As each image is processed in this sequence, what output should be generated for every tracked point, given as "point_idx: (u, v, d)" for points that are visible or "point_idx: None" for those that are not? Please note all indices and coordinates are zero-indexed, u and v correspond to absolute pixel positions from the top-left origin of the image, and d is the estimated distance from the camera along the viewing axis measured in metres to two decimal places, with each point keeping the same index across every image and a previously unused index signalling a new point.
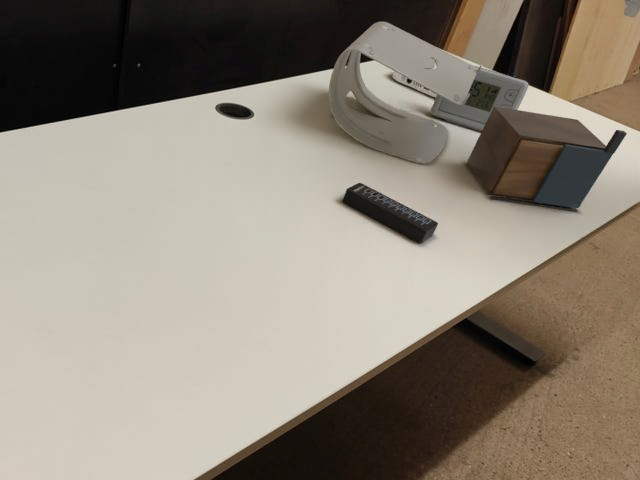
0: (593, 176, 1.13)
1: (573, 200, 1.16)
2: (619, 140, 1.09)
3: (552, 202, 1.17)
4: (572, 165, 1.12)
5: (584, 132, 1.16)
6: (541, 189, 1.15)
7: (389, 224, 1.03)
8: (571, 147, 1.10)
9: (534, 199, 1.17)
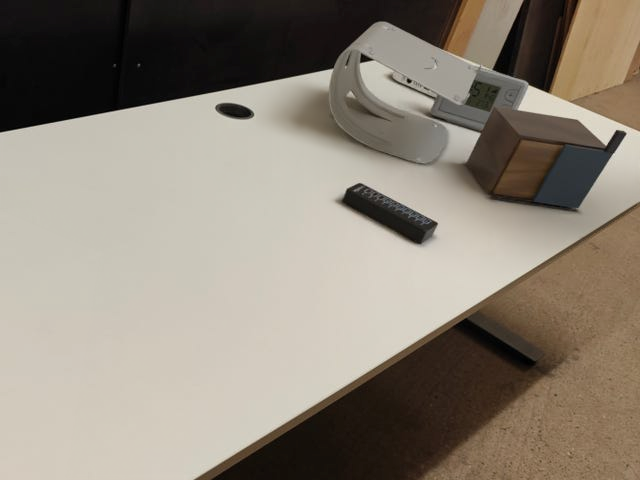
0: (593, 176, 1.13)
1: (573, 200, 1.16)
2: (619, 140, 1.09)
3: (552, 202, 1.17)
4: (572, 165, 1.12)
5: (584, 132, 1.16)
6: (541, 189, 1.15)
7: (388, 225, 1.03)
8: (571, 147, 1.10)
9: (534, 199, 1.17)
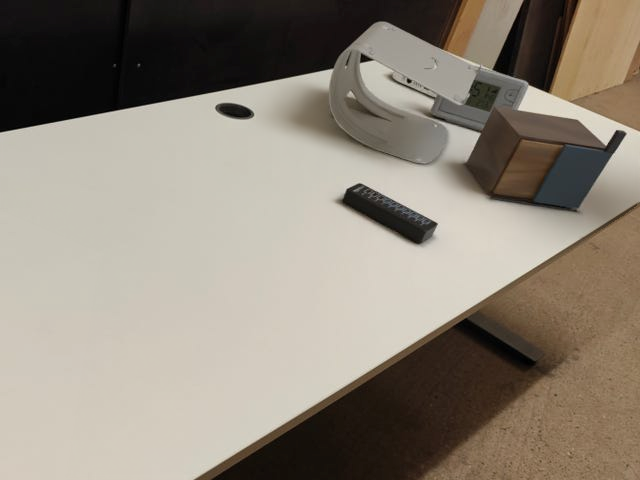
0: (593, 176, 1.13)
1: (573, 200, 1.16)
2: (619, 140, 1.09)
3: (552, 202, 1.17)
4: (572, 165, 1.12)
5: (584, 132, 1.16)
6: (541, 189, 1.15)
7: (388, 225, 1.03)
8: (571, 147, 1.10)
9: (534, 199, 1.17)
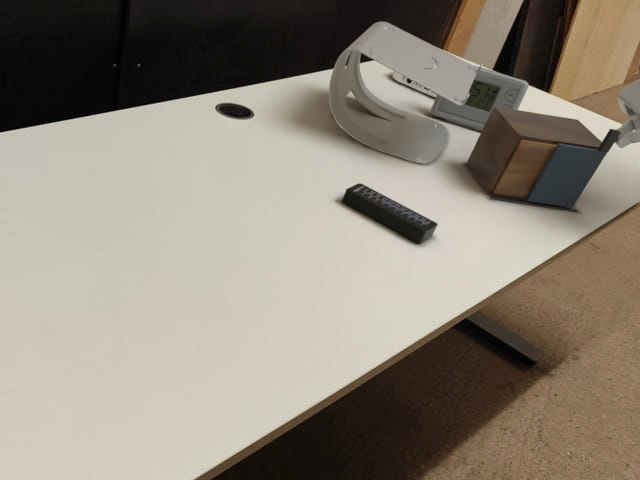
0: (587, 175, 1.13)
1: (567, 199, 1.16)
2: (613, 139, 1.09)
3: (546, 201, 1.17)
4: (566, 164, 1.12)
5: (584, 132, 1.16)
6: (535, 188, 1.15)
7: (388, 225, 1.03)
8: (565, 146, 1.10)
9: (528, 198, 1.17)
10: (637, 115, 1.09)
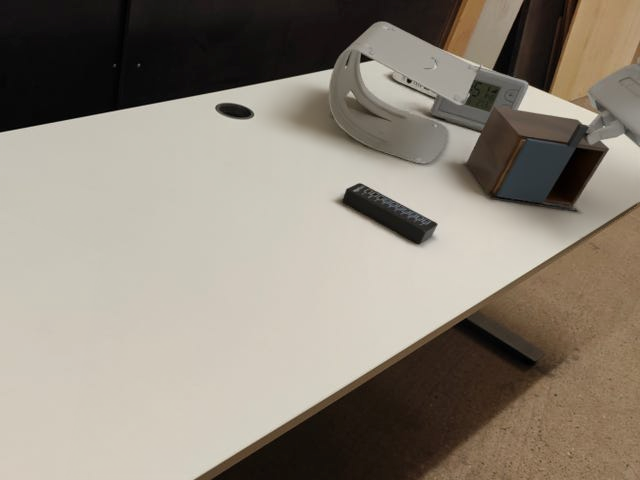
0: (557, 170, 1.13)
1: (537, 195, 1.16)
2: (581, 134, 1.08)
3: (516, 197, 1.16)
4: (535, 159, 1.12)
5: None
6: (505, 184, 1.15)
7: (388, 225, 1.03)
8: (533, 141, 1.09)
9: (498, 194, 1.16)
10: (607, 111, 1.08)
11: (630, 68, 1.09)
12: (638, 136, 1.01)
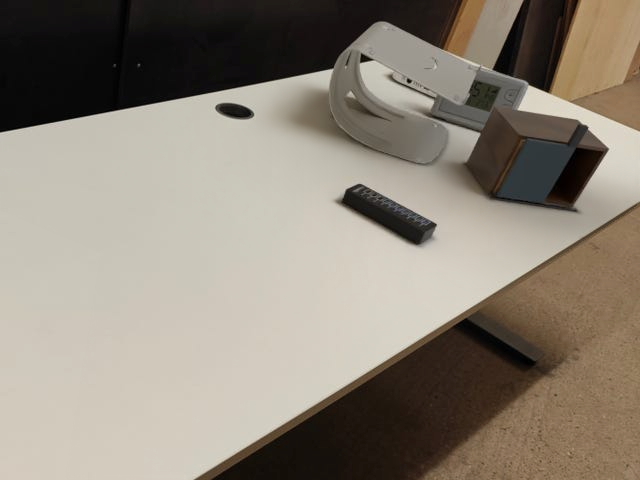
0: (557, 170, 1.13)
1: (537, 195, 1.16)
2: (581, 134, 1.08)
3: (516, 197, 1.16)
4: (535, 159, 1.12)
5: None
6: (505, 184, 1.15)
7: (387, 225, 1.03)
8: (533, 141, 1.09)
9: (498, 194, 1.16)
10: None
11: None
12: None
